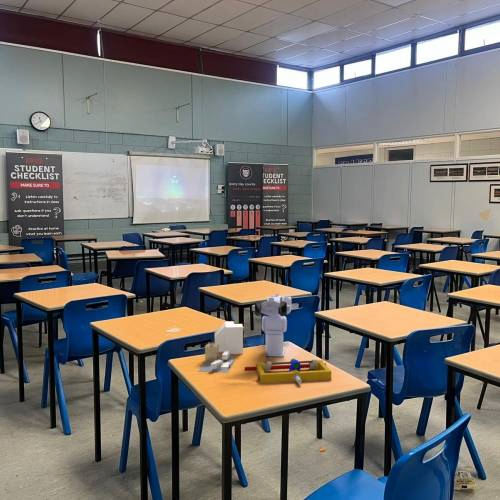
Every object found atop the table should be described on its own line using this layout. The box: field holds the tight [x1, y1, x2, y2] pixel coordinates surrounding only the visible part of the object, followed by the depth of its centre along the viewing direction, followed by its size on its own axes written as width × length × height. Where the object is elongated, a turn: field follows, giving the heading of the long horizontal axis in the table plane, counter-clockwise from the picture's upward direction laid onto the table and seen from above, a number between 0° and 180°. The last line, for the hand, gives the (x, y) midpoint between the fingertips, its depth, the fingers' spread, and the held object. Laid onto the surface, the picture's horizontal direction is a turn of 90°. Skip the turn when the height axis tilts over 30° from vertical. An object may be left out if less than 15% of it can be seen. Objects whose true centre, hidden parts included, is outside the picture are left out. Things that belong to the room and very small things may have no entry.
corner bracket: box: [214, 321, 244, 355], centre depth 211 cm, size 11×11×12 cm
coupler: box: [204, 342, 220, 363], centre depth 197 cm, size 4×4×6 cm
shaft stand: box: [197, 350, 237, 374], centre depth 192 cm, size 19×11×4 cm, turn 172°
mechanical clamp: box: [244, 358, 332, 385], centre depth 180 cm, size 18×6×30 cm
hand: (268, 310), depth 188 cm, fingers open, 7 cm apart
